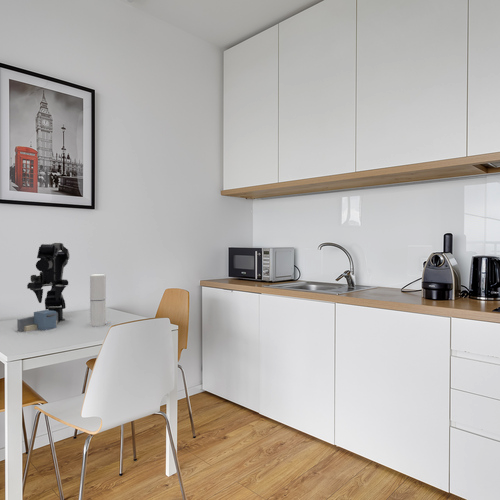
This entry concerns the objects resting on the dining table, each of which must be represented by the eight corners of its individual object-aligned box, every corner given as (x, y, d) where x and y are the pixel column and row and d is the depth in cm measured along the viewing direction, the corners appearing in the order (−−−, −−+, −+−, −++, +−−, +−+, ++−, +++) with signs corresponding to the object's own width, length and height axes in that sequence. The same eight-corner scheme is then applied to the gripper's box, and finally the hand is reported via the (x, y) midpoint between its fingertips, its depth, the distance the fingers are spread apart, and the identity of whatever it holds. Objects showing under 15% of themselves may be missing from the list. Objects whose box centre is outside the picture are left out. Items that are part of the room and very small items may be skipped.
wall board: (55, 322, 199) (55, 312, 199) (60, 323, 197) (60, 312, 197) (17, 331, 181) (17, 319, 181) (22, 332, 179) (22, 320, 179)
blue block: (46, 326, 192) (46, 309, 192) (57, 327, 188) (57, 311, 188) (33, 328, 186) (33, 312, 186) (45, 330, 183) (45, 313, 182)
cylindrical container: (91, 326, 191) (91, 275, 190) (88, 324, 197) (88, 274, 196) (107, 325, 195) (106, 275, 194) (103, 322, 201) (103, 274, 200)
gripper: (53, 267, 203) (54, 297, 204) (19, 270, 186) (19, 303, 187) (69, 268, 198) (69, 299, 199) (35, 271, 182) (35, 304, 182)
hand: (48, 301), depth 192 cm, fingers open, 9 cm apart
